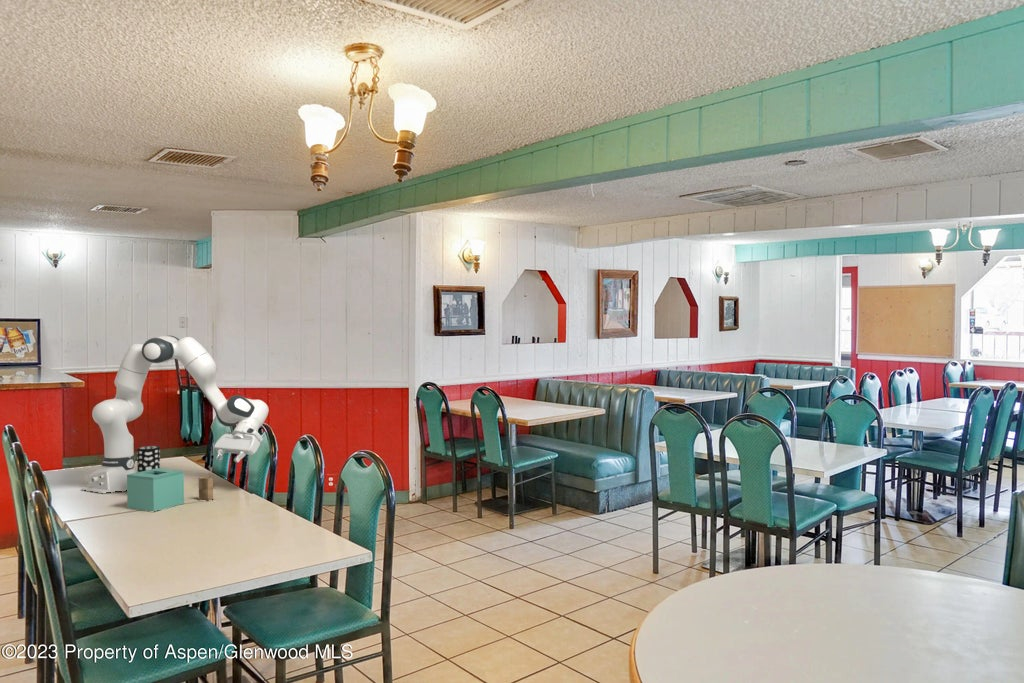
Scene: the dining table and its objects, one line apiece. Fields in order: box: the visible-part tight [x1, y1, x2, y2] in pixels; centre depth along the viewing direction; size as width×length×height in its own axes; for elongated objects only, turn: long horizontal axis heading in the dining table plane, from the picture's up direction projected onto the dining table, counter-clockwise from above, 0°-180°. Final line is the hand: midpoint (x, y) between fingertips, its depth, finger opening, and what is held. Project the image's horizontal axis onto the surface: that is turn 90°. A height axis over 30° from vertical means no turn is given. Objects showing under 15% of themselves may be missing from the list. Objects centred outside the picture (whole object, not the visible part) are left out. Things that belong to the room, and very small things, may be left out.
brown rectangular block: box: [198, 476, 214, 502], centre depth 293 cm, size 5×2×9 cm, turn 66°
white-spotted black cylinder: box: [136, 445, 161, 473], centre depth 300 cm, size 8×8×20 cm
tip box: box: [126, 467, 185, 512], centre depth 283 cm, size 14×14×13 cm
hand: (227, 460), depth 303 cm, fingers open, 8 cm apart
